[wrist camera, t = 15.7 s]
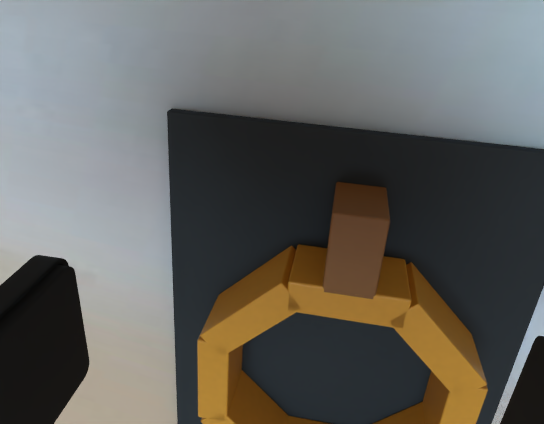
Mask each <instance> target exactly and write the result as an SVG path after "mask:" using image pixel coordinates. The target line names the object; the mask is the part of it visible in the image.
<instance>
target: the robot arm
mask: <svg viewBox="0 0 544 424" xmlns="http://www.w3.org/2000/svg"><path fill="white" fill-rule="evenodd" d="M88 367H89V356H88V350H87V343H86V337H85V331H84V325H83V319H82V313H81V306H80V300H79V294H78V288H77V282H76V275H75V271H74V269H73V268H72V267H69V266H68V263H67V261H66V260H65V259H62V258H55V257H48V256H42V255H37V256H34V257H33V258H31V259H30V260H29V261H28V262H27V263H25V264H24V265H23V266H22V267H21V268H20V269H19V270H17V271H16V272H15V273H14V274H13V275H12V276H11V277H9V278H8V279H7V280H6V281H5V282H4V283H3V284H1V285H0V424H54V422H55V421H56V419H57V418H58V416H59V415H60V413H61V412H62V410H63V409H64V408H65V406H66V405H67V403H68V402H69V400H70V399H71V397H72V396H73V394H74V393H75V391H76V390H77V388H78V387H79V385H80V384H81V382H82V381H83V379H84V378H85V376H86V374H87V371H88ZM500 424H544V336H538V337H537V338H536V339H535V341H534V343H533V345H532V348H531V350H530V352H529V355H528V357H527V360H526V362H525V365H524V367H523V369H522V372H521V374H520V377H519V379H518V382H517V384H516V387H515V389H514V391H513V394H512V396H511V399H510V401H509V404H508V406H507V408H506V411H505V413H504V416H503V418H502V421H501V423H500Z"/></svg>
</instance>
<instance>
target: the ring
mask: <svg viewBox="0 0 544 424" xmlns="http://www.w3.org/2000/svg"><path fill="white" fill-rule="evenodd" d="M389 225H390V215H389V206H388V197H387V189H386V188H385V187H377V186H368V185H360V184H352V183H344V182H337V183H336V187H335V194H334V202H333V209H332V216H331V224H330V232H329V239H328V247H327V248H321V247H314V246H307V245H300V244H299V245H298V246H297V249H295V248H294V247H293V246H290V247H288V248H287V249H285V250H284V251H283V252H281V253H280V254H278V255H277V256H275V257H274V258H272V259H271V260H269V261H268V262H266V263H265V264H263V265H262V266H260V267H259V268H258V269H256V270H255V271H253V272H252V273H250V274H249V275H247V276H246V277H244V278H243V279H241V280H240V281H238V282H237V283H235V284H234V285H233V286H231V287H230V288H228V289H227V290H225V291H224V292H222V293H221V294H219V296H218V298H217V300H216V302H215V304H214V306H213V308H212V310H211V312H210V315H209V317H208V319H207V321H206V323H205V325H204V327H203V329H202V332H201V334H200V336H199V338H198V340H197V354H198V416H199V417H202V418H201V422H202V423H203V424H330V423H325V422H320V421H314V420H309V419H303V418H298V417H293V416H288V415H287V414H286V413H285V412H284V411H283V410H282V409H281V408H280V407H279V406H278V405H277V404H276V403H275V402H274V401H273V400H272V399H271V398H270V397H269V396H268V395H267V394H266V393H265V392H264V391H263V390H262V389H261V388H260V387H259V386H258V385H257V384H256V383H255V382H254V381H253V380H252V379H251V378H250V377H249V376H248V375H247V374H246V373H244V372H243V371H242V350H243V344H245V343H246V342H248V341H250V340H251V339H253V338H255V337H256V336H258V335H259V334H261V333H263V332H264V331H266V330H268V329H269V328H271V327H273V326H274V325H276V324H278V323H279V322H281V321H283V320H284V319H286V318H288V317H289V316H291V315H293V314H294V313H296V312H298V313H304V314H311V315H317V316H323V317H329V318H336V319H342V320H348V321H355V322H361V323H367V324H374V325H380V326H386V327H392V328H394V329H395V330H396V331H397V332H398V334H399V335H400V336H401V337H402V338H403V339H404V340H405V341H406V343H407V344H408V345H409V346H410V347H411V348H412V349H413V351H414V352H415V353H416V354H417V355H418V356H419V357H420V358H421V360H422V361H423V362H424V363H425V364H426V365H427V366H428V367H429V369H430V370H431V373H430V377H429V381H428V384H427V388H426V391H425V395H424V398H423V402H420V403H418V404H416V405H414V406H411V407H409V408H407V409H405V410H402V411H400V412H398V413H396V414H393V415H391V416H389V417H386V418H384V419H382V420H380V421H377V422H375V423H373V424H476V422H477V419H478V417H479V414H480V411H481V408H482V405H483V403H484V400H485V397H486V394H487V391H488V388H487V382H486V378H485V375H484V372H483V369H482V366H481V362H480V359H479V356H478V353H477V350H476V346H475V343H474V340H473V337H472V334H471V333H470V332H469V330H468V329H467V328H466V327H465V326H464V324H463V323H462V322H461V321H460V320H459V318H458V317H457V316H456V315H455V314H454V312H453V311H452V310H451V309H450V308H449V306H448V305H447V304H446V303H445V302H444V300H443V299H442V298H441V297H440V296H439V294H438V293H437V292H436V291H435V290H434V289H433V287H432V286H431V285H430V284H429V283H428V281H427V280H426V279H425V278H424V277H423V275H422V274H421V273H420V272H419V271H418V269H417V268H416V267H415V266H414V265H413V263H412V262H410V263H409V264H407V265H406V261H405V260H404V259H400V258H393V257H385V256H384V251H385V246H386V241H387V235H388V230H389Z"/></svg>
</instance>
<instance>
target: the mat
mask: <svg viewBox="0 0 544 424" xmlns="http://www.w3.org/2000/svg"><path fill="white" fill-rule="evenodd" d="M167 116H168V146H169V176H170V207H171V237H172V267H173V297H174V327H175V357H176V387H177V417H178V424H203V423H202V422H201V418H202V417H199V416H198V354H197V340H198V338H199V336H200V334H201V332H202V329H203V327H204V325H205V323H206V321H207V319H208V317H209V315H210V312H211V310H212V308H213V306H214V304H215V302H216V300H217V298H218V296H219V294H221V293H222V292H224V291H225V290H227V289H228V288H230V287H231V286H233V285H234V284H235V283H237V282H238V281H240V280H241V279H243V278H244V277H246V276H247V275H249V274H250V273H252V272H253V271H255V270H256V269H258V268H259V267H260V266H262V265H263V264H265V263H266V262H268V261H269V260H271V259H272V258H274V257H275V256H277V255H278V254H280V253H281V252H283V251H284V250H285V249H287V248H288V247H290V246H293V247H294V248H295V249H297V246H298V245H299V244H300V245H307V246H314V247H321V248H327V247H328V239H329V232H330V224H331V216H332V209H333V202H334V194H335V187H336V183H337V182H344V183H352V184H360V185H368V186H377V187H385V188H386V189H387V197H388V206H389V215H390V225H389V230H388V235H387V241H386V246H385V251H384V256H385V257H393V258H400V259H404V260H405V261H406V265H407V264H409V263H410V262H412V263H413V265H414V266H415V267H416V268H417V269H418V271H419V272H420V273H421V274H422V275H423V277H424V278H425V279H426V280H427V281H428V283H429V284H430V285H431V286H432V287H433V289H434V290H435V291H436V292H437V293H438V294H439V296H440V297H441V298H442V299H443V300H444V302H445V303H446V304H447V305H448V306H449V308H450V309H451V310H452V311H453V312H454V314H455V315H456V316H457V317H458V318H459V320H460V321H461V322H462V323H463V324H464V326H465V327H466V328H467V329H468V330H469V332H470V333H471V334H472V337H473V340H474V343H475V346H476V350H477V353H478V356H479V359H480V362H481V366H482V369H483V372H484V375H485V378H486V382H487V388H488V391H487V394H486V397H485V400H484V403H483V405H482V408H481V411H480V414H479V417H478V419H477V422H476V424H491V423H492V420H493V418H494V415H495V412H496V410H497V407H498V405H499V402H500V399H501V397H502V394H503V391H504V389H505V386H506V384H507V381H508V378H509V376H510V373H511V370H512V368H513V365H514V362H515V360H516V357H517V355H518V352H519V349H520V347H521V344H522V341H523V339H524V336H525V334H526V331H527V328H528V326H529V323H530V320H531V318H532V315H533V313H534V310H535V307H536V305H537V302H538V299H539V297H540V294H541V291H542V289H543V286H544V149H535V148H526V147H517V146H507V145H498V144H489V143H480V142H471V141H462V140H452V139H443V138H434V137H425V136H416V135H407V134H397V133H388V132H379V131H370V130H361V129H352V128H342V127H333V126H324V125H315V124H306V123H297V122H287V121H278V120H269V119H260V118H251V117H242V116H232V115H223V114H214V113H205V112H196V111H187V110H177V109H171V110H169V111H168V112H167ZM242 371H243V372H244V373H246V374H247V375H248V376H249V377H250V378H251V379H252V380H253V381H254V382H255V383H256V384H257V385H258V386H259V387H260V388H261V389H262V390H263V391H264V392H265V393H266V394H267V395H268V396H269V397H270V398H271V399H272V400H273V401H274V402H275V403H276V404H277V405H278V406H279V407H280V408H281V409H282V410H283V411H284V412H285V413H286V414H287V415H288V416H293V417H298V418H303V419H309V420H314V421H320V422H325V423H330V424H373V423H375V422H377V421H380V420H382V419H384V418H386V417H389V416H391V415H393V414H396V413H398V412H400V411H402V410H405V409H407V408H409V407H411V406H414V405H416V404H418V403H420V402H423V398H424V395H425V391H426V388H427V384H428V381H429V377H430V373H431V370H430V369H429V367H428V366H427V365H426V364H425V363H424V362H423V361H422V360H421V358H420V357H419V356H418V355H417V354H416V353H415V352H414V351H413V349H412V348H411V347H410V346H409V345H408V344H407V343H406V341H405V340H404V339H403V338H402V337H401V336H400V335H399V334H398V332H397V331H396V330H395V329H394V328H392V327H386V326H380V325H374V324H367V323H361V322H355V321H348V320H342V319H336V318H329V317H323V316H317V315H311V314H304V313H298V312H296V313H294V314H293V315H291V316H289V317H288V318H286V319H284V320H283V321H281V322H279V323H278V324H276V325H274V326H273V327H271V328H269V329H268V330H266V331H264V332H263V333H261V334H259V335H258V336H256V337H255V338H253V339H251V340H250V341H248V342H246V343H245V344H243V350H242Z"/></svg>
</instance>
